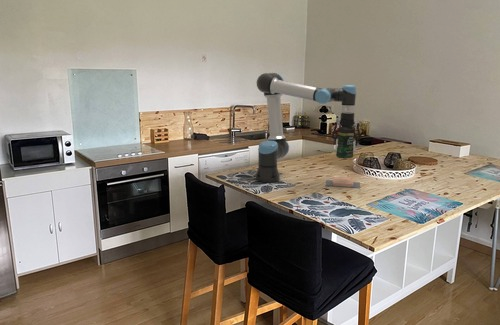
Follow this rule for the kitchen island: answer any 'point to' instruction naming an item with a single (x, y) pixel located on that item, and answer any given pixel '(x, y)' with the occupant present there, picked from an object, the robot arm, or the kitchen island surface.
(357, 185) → the mat
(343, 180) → the tile
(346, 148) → the coffee jar
